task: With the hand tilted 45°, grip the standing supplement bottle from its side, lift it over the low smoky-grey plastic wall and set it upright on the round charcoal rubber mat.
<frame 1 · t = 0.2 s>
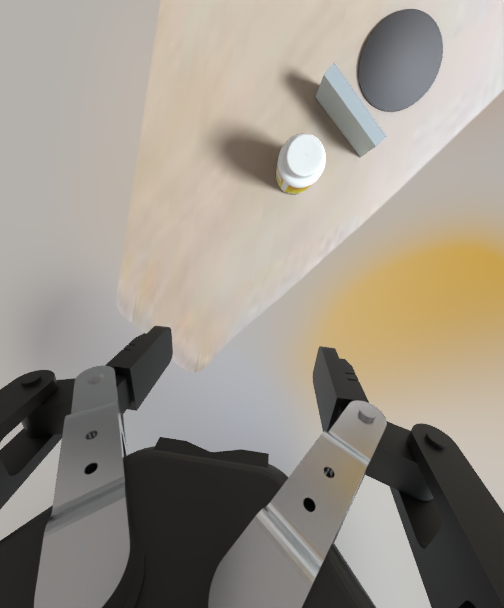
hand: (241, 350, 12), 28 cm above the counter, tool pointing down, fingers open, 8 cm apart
low wall: (342, 123, 32), on the counter
supplement bottle: (293, 174, 35), on the counter
resting mat: (399, 64, 30), on the counter
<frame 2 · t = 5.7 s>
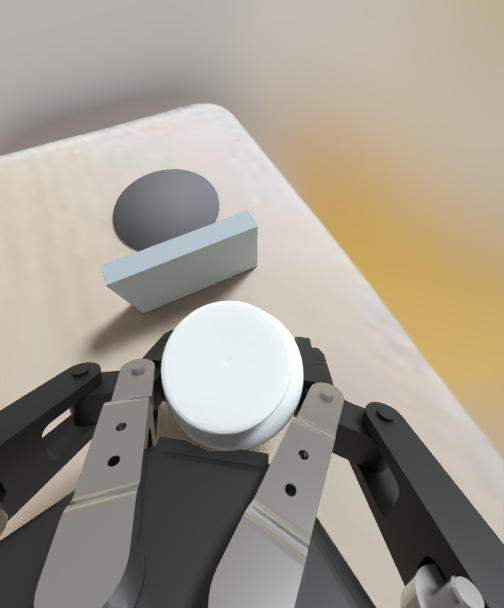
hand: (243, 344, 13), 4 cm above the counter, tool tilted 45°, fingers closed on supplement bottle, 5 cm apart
low wall: (199, 281, 19), on the counter
supplement bottle: (243, 382, 17), on the counter, touching gripper
resting mat: (167, 208, 22), on the counter
when the fingers open (6 cm above the counter, at t = 13.0 s): supplement bottle drops 1 cm, resting on resting mat.
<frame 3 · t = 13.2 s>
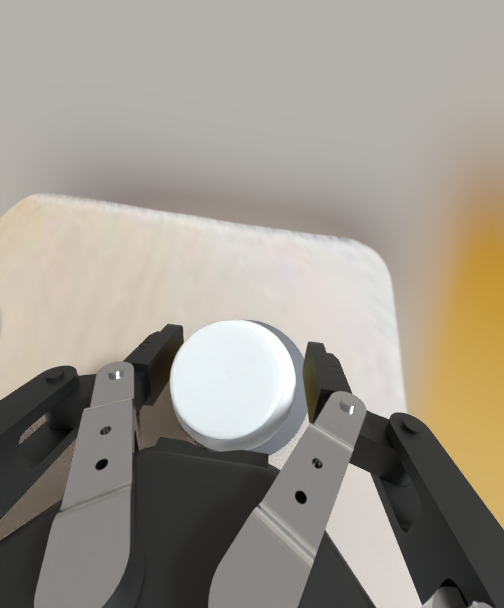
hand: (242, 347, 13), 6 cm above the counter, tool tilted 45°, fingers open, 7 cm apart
supplement bottle: (242, 386, 18), resting on resting mat
resting mat: (244, 383, 18), on the counter
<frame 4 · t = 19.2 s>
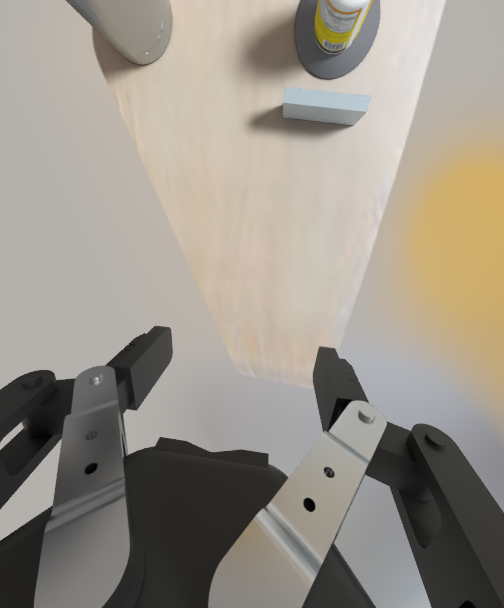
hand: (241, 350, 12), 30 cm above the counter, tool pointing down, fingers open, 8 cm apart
low wall: (319, 114, 32), on the counter
supplement bottle: (335, 28, 29), resting on resting mat
resting mat: (336, 26, 29), on the counter
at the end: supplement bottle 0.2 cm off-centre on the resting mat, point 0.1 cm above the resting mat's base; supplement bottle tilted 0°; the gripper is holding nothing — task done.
